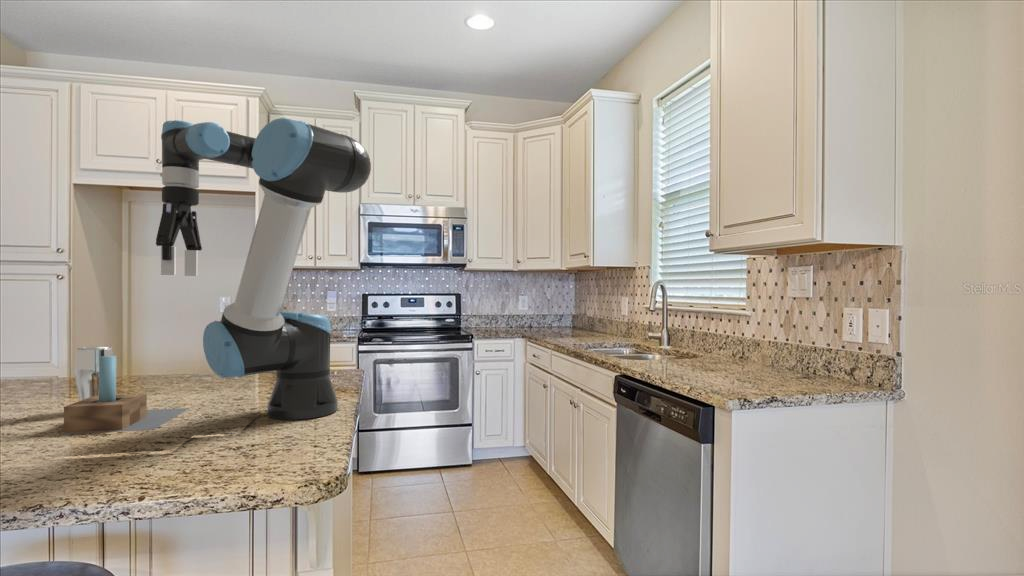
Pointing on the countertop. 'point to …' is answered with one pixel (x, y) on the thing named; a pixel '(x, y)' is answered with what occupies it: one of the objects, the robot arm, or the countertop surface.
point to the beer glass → (89, 369)
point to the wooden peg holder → (105, 413)
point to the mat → (147, 420)
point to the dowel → (107, 379)
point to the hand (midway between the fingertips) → (180, 275)
